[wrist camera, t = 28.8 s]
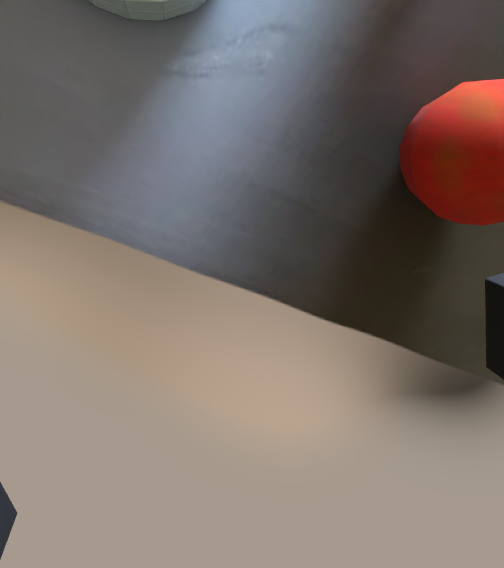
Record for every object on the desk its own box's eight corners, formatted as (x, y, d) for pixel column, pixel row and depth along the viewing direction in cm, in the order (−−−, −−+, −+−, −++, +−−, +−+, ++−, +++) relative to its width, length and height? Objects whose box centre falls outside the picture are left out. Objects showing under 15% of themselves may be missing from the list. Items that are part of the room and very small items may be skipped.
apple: (493, 80, 36) (632, 55, 25) (487, 202, 40) (608, 226, 29) (378, 95, 35) (473, 76, 24) (382, 220, 38) (466, 253, 28)
